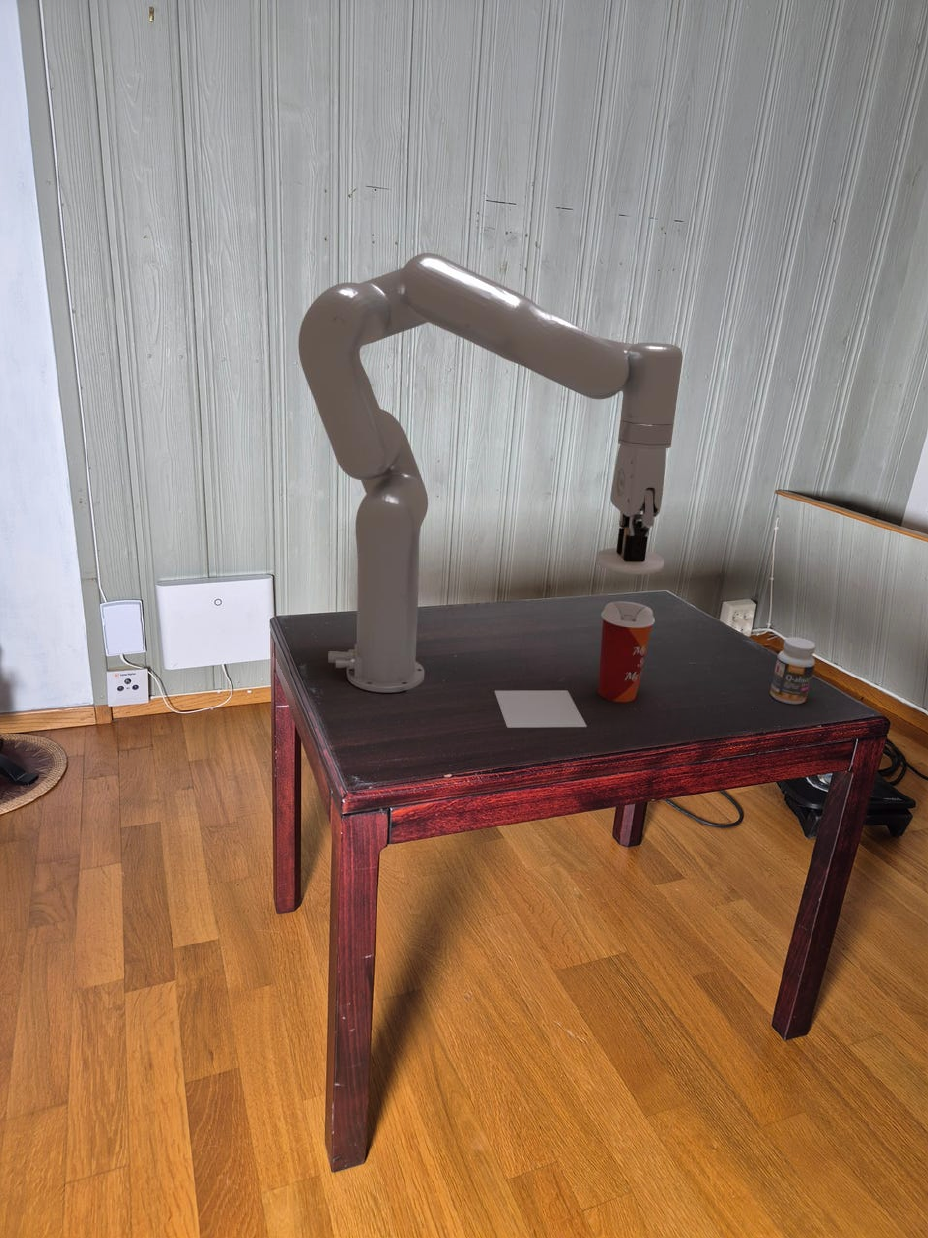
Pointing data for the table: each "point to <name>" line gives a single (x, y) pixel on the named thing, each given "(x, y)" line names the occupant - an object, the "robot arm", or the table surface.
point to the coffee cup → (623, 649)
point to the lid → (616, 562)
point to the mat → (539, 709)
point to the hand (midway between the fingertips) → (630, 556)
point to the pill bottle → (793, 671)
